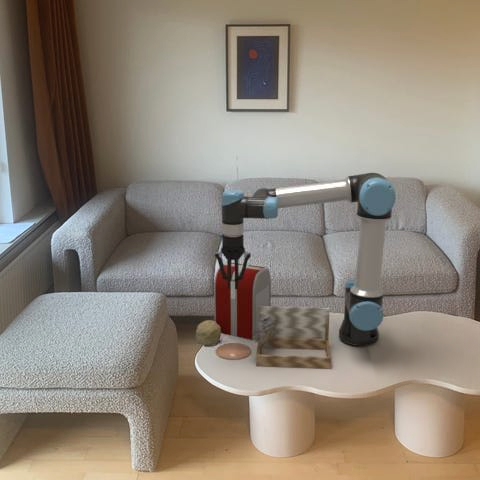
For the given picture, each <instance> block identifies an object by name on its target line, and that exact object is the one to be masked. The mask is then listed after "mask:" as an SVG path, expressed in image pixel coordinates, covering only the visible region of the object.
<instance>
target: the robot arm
mask: <svg viewBox="0 0 480 480" xmlns="http://www.w3.org/2000/svg"><path fill="white" fill-rule="evenodd" d="M394 188H395V187H394V186H393V185H392V184H391V182H389V181H388V179H386V177H385V176H384V175H382V174H380V173H377V172H367V173H362V174H356V175H355V174H354V175H349V176H348V175H347V176H346V177H345V179H338V180H331V181H324V182H322V181H321V182H316V183H315V182H313V183H305V184H298V185H291V186H283V187H275V188H266V187H261V188H258V189H256V190H255V191H254V192H253V195H252V196H245V195H244V192H243V190H240V189H227V190H225V191H224V192H222V194H221V195H222V196H221V221H222V222H221V231H222V235H221V237H222V238H221V244H222V245H221V248H220V250H219V251H216V252H215V254H214V257H215V259H216V260H217V263H218V266H219V267H218V268H220V271H221V274H222V278H223V279H225V280H227V281H228V289H231V299H235V296H236V295H235V289H238V287H239V280H242V279H243V277H244V273H245V269H246V265H247V264H248V261H249V260H250V258H251V255H252V253H251V252H248V251H246V249H245V246H244V245H245V244H244V242H245V241H244V240H245V239H244V237H245V236H244V233H245V232H244V229H245V228H244V223H245V222H244V219H265V220H269V219H277V218H278V217H279V216H278V215H279V214H278V213H279V209H284V208H285V209H286V208H293V207H302V206H303V207H304V206H310V205H312V206H313V205H317V204H318V205H319V204H327V203H336V202H343V201H344V202H345V201H347V202H348V203H350V204H351V203H357V205H356V207H357V209H356V216H357V217H358V219H359V220H360V225H359V237H358V246H357V248H358V249H357V259H356V269H355V270H356V271H355V278H354V279H348V280H346V283H345V286H344V289H345V292H344V309H343V310H344V312H343V313H344V315H343V319H342V321H341V325H340V327H339V329H338V339H339V340H340V341H341V342H343V343H345V344H349V345H353V346H360V347H361V346H363V347H364V346H370V345H374V344H376V343H378V341H379V338H380V335H379V334H380V333H379V330H378V327H379V326H380V325H381V324H382V322H383V320H384V317H385V316H384V315H385V313H384V310H383V302H384V301H383V300H384V290H383V289H382V288H380V287H381V285H380V284H381V278H382V277H381V276H382V275H381V274H382V269H383V268H382V265H383V256H384V246H385V238H386V227H387V225H386V224H387V222H389V220H391V219H392V212H393V208H394V206H395V203H396V198H397V197H396V190H395V189H394ZM223 256H224V258H225V259H226V260H227V261H226V263H227V275H226V272H225V268H224V264H225V263H224V260H223V258H222V257H223ZM242 256H243V258H244V259H243V263H242V264H243V267H242V271H241V275H240V276H239V264H240V263H239V260H240V259H241V258H242ZM232 261H234V262H233V263H235V279H231V263H232Z"/></svg>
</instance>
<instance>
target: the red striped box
mask: <svg viewBox="0 0 480 480" xmlns="http://www.w3.org/2000/svg"><path fill="white" fill-rule="evenodd" d="M223 264H224V268H225V272H226V275H227V262H225V263H223ZM242 267H243V263H239V276H240V275H241V271H242ZM271 278H272V277H271V272H270V269H269V268H268V267H265V266H258V265H252V264H249V263H247V265H246V269H245V273H244V277H243V279H242V280H239V287H238V289H235V295H236V296H235V299H231V289H228V281H227V280H225V279H223V278H222V274H221V271H220V267H218V268H217V270H216V272H215V275H214V281H213V300H214V301H213V302H214V303H213V306H214V307H213V308H214V309H213V313H214V317H213V319H214V320H213V321H215V322H216V323H217V324H218V325H219V326H220V328H221V335H226V336H231V337H234V338H235V337H236V338H241V339H244V340H250V341H256V340H257V337H253V336H254V335H253V332H254V330H256V329H257V328H259V306H271V307H272V305H271V304H272V303H271V297H272V296H271V295H272V292H271V291H272V289H271V288H272V284H271V283H272V279H271ZM231 279H235V263H234V262H231ZM252 337H253V338H252Z"/></svg>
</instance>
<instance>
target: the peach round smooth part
mask: <svg viewBox="0 0 480 480" xmlns="http://www.w3.org/2000/svg"><path fill="white" fill-rule="evenodd" d="M215 354H216V356H217V357H219V358H221V359H225V360H230V361H232V360H234V361H236V360H242V359H243V360H244V359H246V358H248V357H249V356H250V355H251V354H252V349H251V348H250V346H248V345H246V344H243V343H238V342H236V343H235V342H229V343H225V344H222V345H219V346H217V347H216V349H215Z"/></svg>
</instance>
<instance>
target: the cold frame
mask: <svg viewBox="0 0 480 480" xmlns="http://www.w3.org/2000/svg"><path fill="white" fill-rule="evenodd" d="M330 310H331V309H330V307H304V306H303V307H299V306H272V305H271V306H259V327H260V326H261V324H262V321H263V319H265V318H267V317H269V316H270V317H271V318H274V319H277V324H276V326H275V329H274V330H273V332H272V334H271V335H270V337H269V339H268V341H267V342H266V344H265V346H264V347H262V348H261V345H260V342H257V346H256V354H255V356H256V358H255V367H267V368H268V367H270V368H273V367H274V368H275V367H276V368H297V369H299V368H300V369H302V368H303V369H326V370H327V369H329V370H330V369H331V367H332V366H331V365H332V364H331V363H332V357H331V356H332V355H331V349H330V348H331V347H330V341H329V337H330V335H329V334H330V331H329V330H330ZM260 348H261V349H260ZM262 349H281V350H282V349H287V350H311V351H312V350H313V351H315V350H316V351H325V356H309V355H285V354H284V355H283V354H281V355H278V354H276V355H275V354H261V351H262Z"/></svg>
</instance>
